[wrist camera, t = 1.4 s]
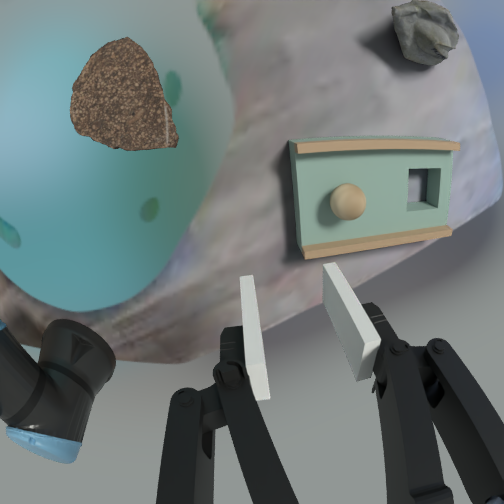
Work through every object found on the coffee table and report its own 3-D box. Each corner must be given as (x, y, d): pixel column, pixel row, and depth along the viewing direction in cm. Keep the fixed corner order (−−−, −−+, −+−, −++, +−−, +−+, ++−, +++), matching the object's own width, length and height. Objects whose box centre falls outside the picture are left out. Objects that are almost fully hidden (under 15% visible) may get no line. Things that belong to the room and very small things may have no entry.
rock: (209, 125, 25) (125, 192, 21) (165, 132, 32) (102, 184, 29) (148, 19, 17) (46, 76, 14) (116, 54, 24) (45, 102, 21)
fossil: (379, 62, 26) (415, 54, 19) (364, 0, 22) (395, -20, 15) (443, 70, 26) (482, 68, 19) (431, 14, 22) (466, 4, 14)
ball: (325, 214, 32) (337, 228, 28) (324, 180, 30) (336, 190, 26) (357, 211, 32) (371, 223, 28) (357, 178, 30) (372, 187, 26)
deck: (296, 242, 36) (304, 259, 32) (288, 140, 30) (297, 144, 26) (434, 223, 36) (451, 235, 32) (439, 137, 30) (460, 143, 26)
